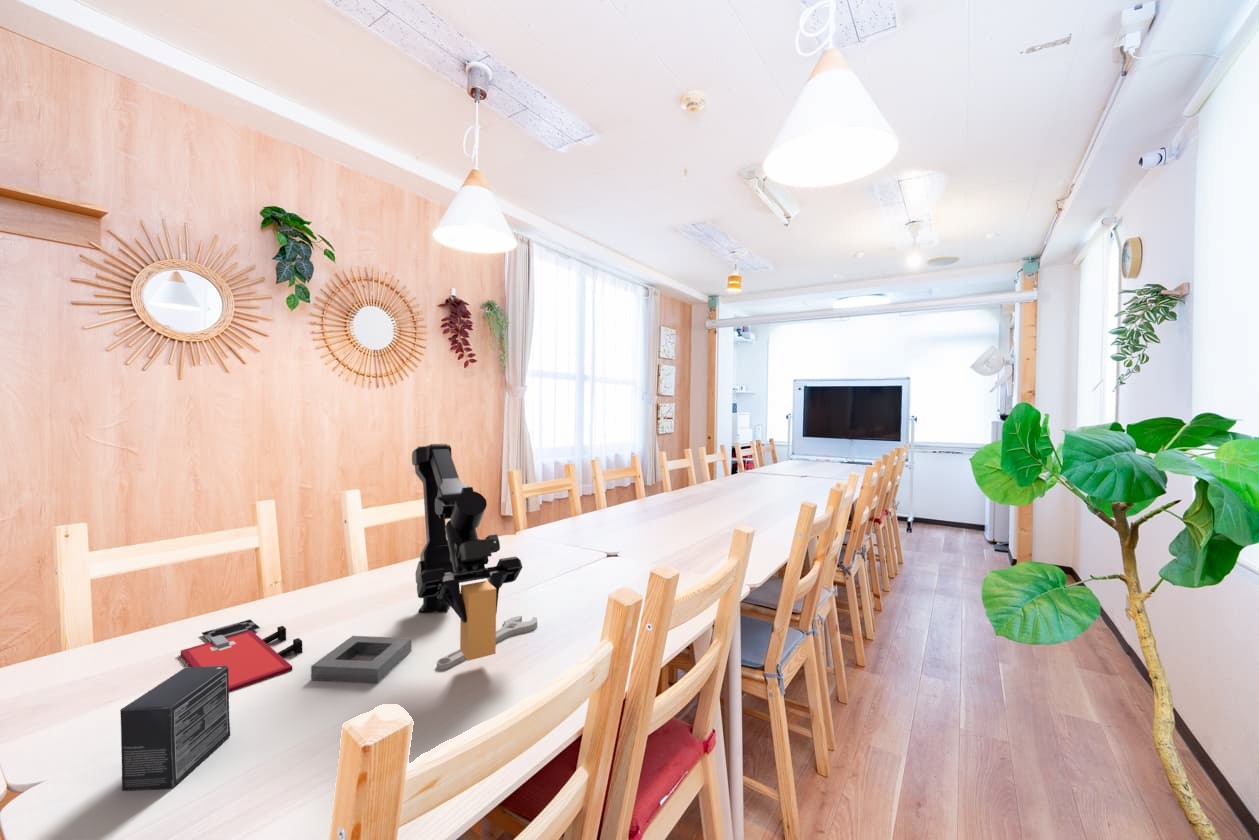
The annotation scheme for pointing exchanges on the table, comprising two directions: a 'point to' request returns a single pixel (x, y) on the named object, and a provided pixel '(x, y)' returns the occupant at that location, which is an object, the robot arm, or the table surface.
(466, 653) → the tall tan rectangular block
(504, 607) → the table surface
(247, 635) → the red board with handle
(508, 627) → the adjustable wrench
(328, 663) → the gray square socket plate
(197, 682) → the small box
